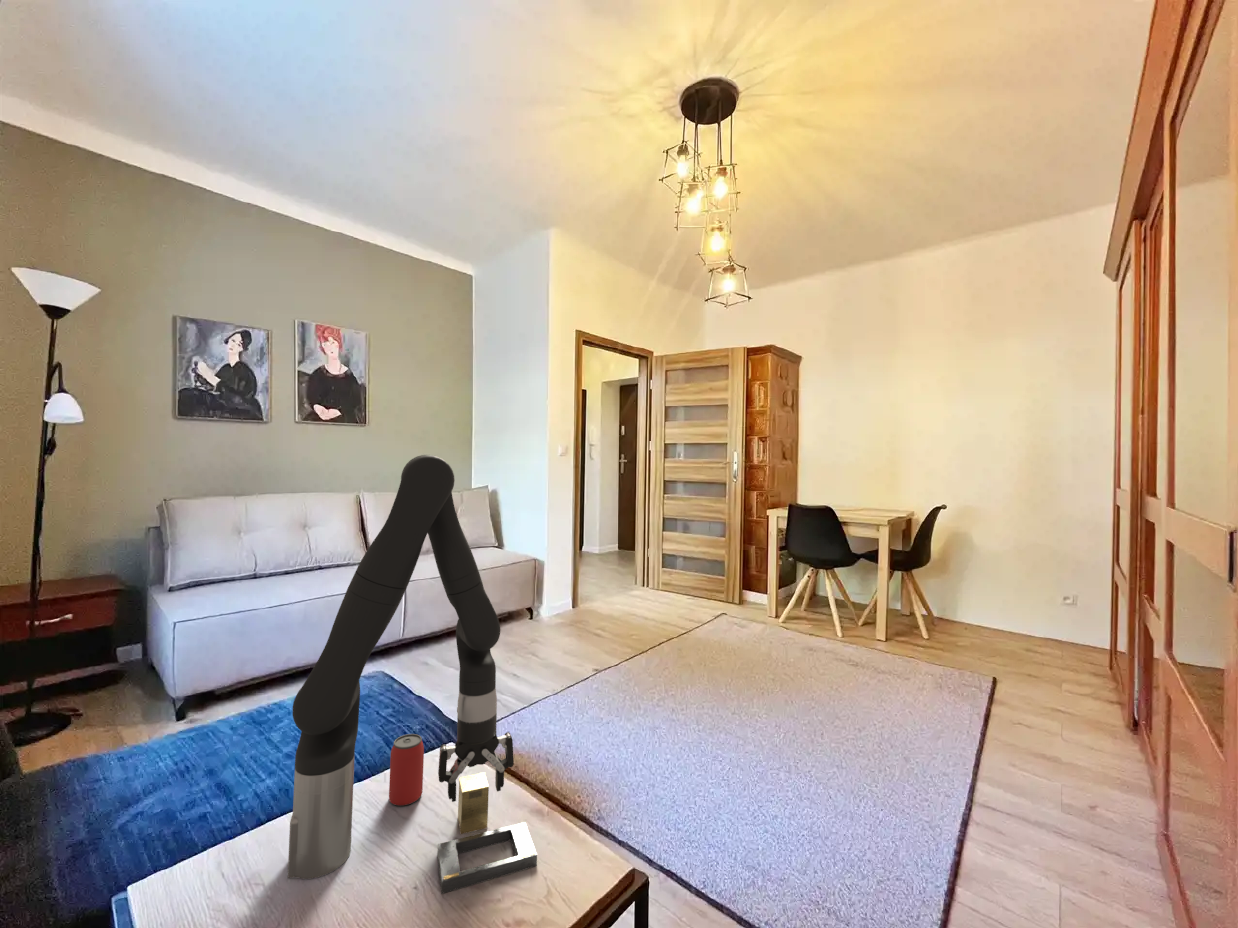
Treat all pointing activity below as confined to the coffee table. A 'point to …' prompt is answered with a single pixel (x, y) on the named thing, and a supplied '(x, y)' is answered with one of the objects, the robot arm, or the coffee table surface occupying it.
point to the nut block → (473, 803)
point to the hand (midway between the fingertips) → (476, 793)
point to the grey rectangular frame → (456, 879)
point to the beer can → (406, 770)
